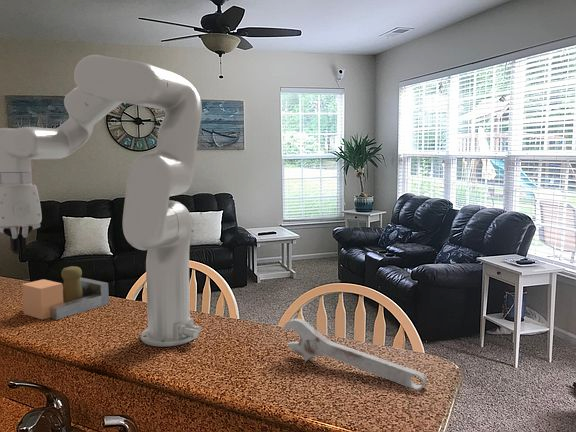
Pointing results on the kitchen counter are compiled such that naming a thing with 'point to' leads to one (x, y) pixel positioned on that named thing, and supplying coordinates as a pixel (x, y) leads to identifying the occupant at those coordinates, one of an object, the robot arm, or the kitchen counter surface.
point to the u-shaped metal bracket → (83, 299)
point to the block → (41, 297)
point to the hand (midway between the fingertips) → (18, 253)
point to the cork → (72, 284)
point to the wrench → (348, 355)
